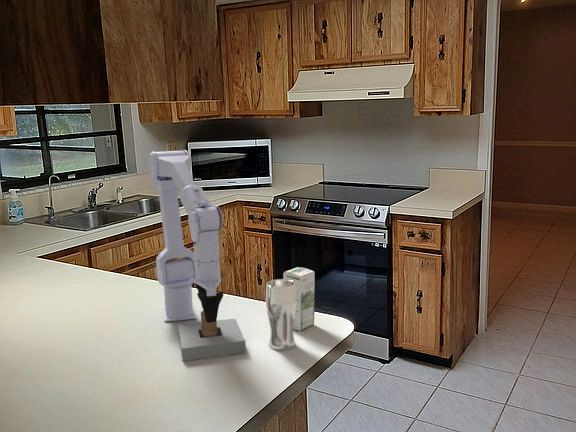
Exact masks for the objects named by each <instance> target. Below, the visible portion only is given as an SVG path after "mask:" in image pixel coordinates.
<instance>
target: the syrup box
mask: <svg viewBox="0 0 576 432" xmlns="http://www.w3.org/2000/svg"><path fill="white" fill-rule="evenodd" d="M315 273H316V272H315V271H314V270H311V269H309V268H306V267H298V266H297V267H295V268H292V269H289V270H285V271H284V272H283V277H282V279H287V280H291V281H294V282H295V290H296V312H295V318H294V324H293V330H295V331H298V332H299V331H300V332H302V331H304V330H306V329H307V328H310V327H311V326H313V325H315V279H316V278H315V275H316V274H315Z"/></svg>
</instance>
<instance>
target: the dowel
mask: <svg viewBox="0 0 576 432" xmlns="http://www.w3.org/2000/svg"><path fill="white" fill-rule="evenodd" d="M217 320H218V319H216V322H210V323H207V321H206V318H205V314H204V311H203V310H201V312H200V322H201V329H202V338H206V337H214V336H217Z"/></svg>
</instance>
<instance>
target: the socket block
mask: <svg viewBox="0 0 576 432" xmlns="http://www.w3.org/2000/svg"><path fill="white" fill-rule="evenodd" d="M177 326H178V327H177V329H178V341H179V345H180V347H179V348H180V352H181V360H182V362H187V361H194V360H203V359H211V358H212V359H213V358H220V357H226V356H236V355H242V354H246V340H245V337H244V335H243V333H242V331H241V328H240V326H239V324H238V322H237V320H236V318H228V319H219V320H218V319H217V336H214V337H206V338H202V329H201V321H200V322H191V323H182V324H177Z"/></svg>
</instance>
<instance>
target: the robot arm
mask: <svg viewBox="0 0 576 432" xmlns="http://www.w3.org/2000/svg"><path fill="white" fill-rule="evenodd" d="M147 167H148V176H149V181H150V184H151V185H152V186H156V188H157V192H158V200H159V207H160V215H161V224H162V232H163V239H164V247H165V248H164V249H163V250H162V251H161V252H160V253H158V255H157V256H156V259H155V265H156V266H155V272H156V275H155V276H156V279H157V282H158V283H159V284H160V285H161V286H163V291H164V293H163V295H164V296H163V297H164V307H163V315H164V317H163V319H164V322H165V323H167V322H176V321H177V322H179V321H184V320H194V319H196V318H197V317H196V313H195V309H194V306H193V304H194V303H193V289H192V287H193V286H192V285H193V284H194V286H195V288H196V289H197V291H198V292H197V294H196V295H197V298H198V299H199V301H200V304H201V307H202V311H204V314H205V318H206V321H207V323H210V322H216V319H217V318H218V314H219V313H218V312H219V309H220V308H219V307H220V303H222V302H221V301H222V300H223V298H224V291H218V292H217V288H218V286H219V284H221V282H222V276H221V262H220V261H221V260H220V242H219V241H220V239H219V237H220V236H219V232H220V231H221V230H222V229H223V214H222V211H221V209H220V207H219V206H218V205H215V204H214V203H211V202H210V200H209V198H208V196H207V195H206V193H205V192H204V189H203V188H202V187H201V186H200V185H197V184H196V183H195V181H194V178H193V176H192V173H191V171H192V157H191V155H190V153H189V151H188V150H186V149H182V150H170V151H169V150H168V151H151V152H150V153H149V154H148V157H147ZM178 189H179V192H180V194H179V195H178ZM178 196H179V197H178ZM179 200H180V202H181V204H182V206H183V208H184V209H185V213H186V214H187V217H188V219H187V223H188V226H189V227H188V228H189V231H190V238H191V241H192V242H193V243H192V245H193V251H192V250H191V249H189V248H187V247H185V246H184V245H185V244H184V236H183V229H182V220H181V213H180V203H179ZM217 320H218V319H217Z"/></svg>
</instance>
